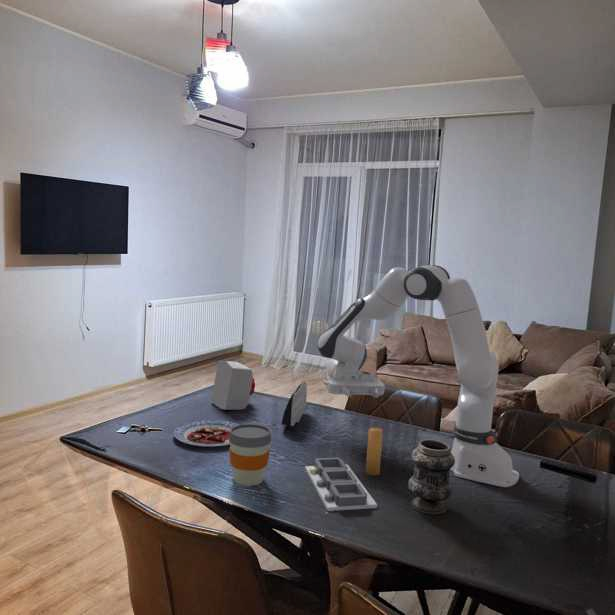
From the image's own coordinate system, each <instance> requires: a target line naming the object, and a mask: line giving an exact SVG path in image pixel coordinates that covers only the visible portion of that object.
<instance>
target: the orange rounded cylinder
mask: <svg viewBox="0 0 615 615" xmlns="http://www.w3.org/2000/svg"><path fill="white" fill-rule="evenodd" d="M383 430H384V429H382V428H380V427H373V426H372V427H369V428H368V434H367V450H366V463H365V473H366V474H367V475H369V476H378V475H380V473H381V461H382V460H381V459H382V458H381V457H382V446H383V435H384V434H383V433H384V432H383Z"/></svg>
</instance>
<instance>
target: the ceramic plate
mask: <svg viewBox="0 0 615 615" xmlns="http://www.w3.org/2000/svg"><path fill="white" fill-rule="evenodd" d="M237 425H240V424H238V423H235V422H232V421H227V420H218V419H217V420H216V419H215V420H214V419H208V420H197V421H191V422H187V423H184V424H182V425H180V426H178V427H176V429H175V430H174V431H173V434H174V435H173V436H174V437H175V439H176V440H177V441H180V442H182V443H183V444H188V445H191V446H195V447H196V446H197V447H223V446H224V447H225V446H230V442H229V435H230V429H231V428H232V427H234V426H237Z"/></svg>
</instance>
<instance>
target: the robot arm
mask: <svg viewBox="0 0 615 615" xmlns="http://www.w3.org/2000/svg"><path fill="white" fill-rule="evenodd" d="M374 288H375V289H373V290H372V291H371V292H370V293H369V294H367V295H366V296H365V297H362V298H357V299H356V300H355V301H354V302H353V303H351V304H350V305H349V307H348V308H347V309H346V310H345V311H344V312H343V313H342V314H341V315H340V317H338V318H337V319H336V320H335V322H334V323H333V324H331V326H330V327H329V328H328V329H326V330H325V331H324V332H322V333H321V335H320V337H318V338H319V339H318V341H317V344H316V345H317V349H318V352H319V354H320V355H321V356H322V357H323V358H327V359H328V361H327V363H326V364H325V365H326V366H325V368H326V374H327V376H328V378H326V379H323V380H322V382H323V385H325V386H326V389H327V392H328V393H329V394H332V395H344V396H346V397H347V398H353V395H356V396H357V395H360V396H372V397H373V398H375V399H376V398H377V399H378V398H379V396H383V395H384V394H385V388H386V385H385V384H384V382H382V381H381V380H380V379H378V378H377V377H374V374H373V373H372V372H367V371H361V369H362V368H363V367H364V365H365V363H366V361H367V358H368V352H367V351H368V350H367V346H366V345H365V342H363V341H360V340H358V339H355V338H353V337H349V336H347V335H345V333H347V331H348V330H349V329H350V328H351V327H353V325H354V324H355V323H357V322H359V321H364V320H374V321H383V320H389V319H391V318H393V317H394V316H395V315H396V314H398V312H399V310H400V309H401V308H402V306H404V304H405V302H406V301H407V299H408V298H409V297H410V298H411V299H414V300H418V301H436V300H437V301H438V302H439V304H440V305H441V308H442V311H443V315H444V318H445V321H446V326H447V329H448V332H449V335H450V339H451V344H452V350H453V356H454V357H453V358H454V361H455V366H456V372H457V378H458V380H459V381H458V382H460V389H459V390H460V391H459V394H458V395H459V396H458V399H457V410H456V419H455V423H454V424H453V426H454V427H453V431H452V439H453V443H452V449H451V450H450V453H452V455H453V456H454V458H455V464H454V466H453V467H452V468H450V471H452V472H453V474H454V475H455V476H456V477H457V478H460V479H461V478H462V479H465V480H471V481H475V482H478V483H482V484H483V483H484V484H488V485H492V486H497V487H500V488H509V487H513V486H514V485H516V484H517V483H518V482H519V479H520V473H519V472H518V471H517V470H515V469H514V468H513V460H512V457H511V456H510V455H509V454H508V452H506V451H505V450H504V448H502V447H501V446H500V445H499V444H498V443H497V436H498V435H499V434H498V432H496V433H495V432H494V430H493V429H492V422H493V411H494V404H495V398H496V392H497V383H498V378H499V377H498V375H499V368H500V367H499V366H500V364H499V361H498V359H497V356H495V354H494V353H492V352H491V351H490V347H489V342H488V336H487V330H486V327H485V324H484V321H483V316H482V312H481V310H480V307H479V304H478V301H477V298H476V296H475V292H474V290H473V289H472V287H471V285H470V283H469V282H468V280H466V279H465V278H461V277H454V278H451V276H450V273H449V271H448V270H447V269H445V268H444V267H442V266H439V265H437V264H436V265H434V264H433V265H429V264H428V265H421V266H418V267H415V268H412V269H411V270H407V269H406V268H404V267H400V266H396V267H393V268H391V269H390V270H389V271H388V272H387V273H386V274H385V275H384V276H383V277H382V278H381V280H380V281H379V282H378V283H377V285H376V287H374Z"/></svg>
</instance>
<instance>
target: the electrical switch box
mask: <svg viewBox="0 0 615 615" xmlns="http://www.w3.org/2000/svg"><path fill="white" fill-rule="evenodd" d="M213 383H214V384H213V389H212V394H211V401H212V403H213V404H214V405H215V407H216V406H218V407H219V408H218V409H221V410H224V411H225V410H226V411H227V410H228V411H243V410H242V409H245V410H246V407H247V406H248V404H249V401H250V396H252V395H253V394H254V392H255V388H256V383H255V378H254V376H253V370H252V368H250V367H248V366H246V365H244V364H242V363H240V362H238V361H230V360H218V361H217V367H216V371H215V377H214V381H213Z"/></svg>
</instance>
